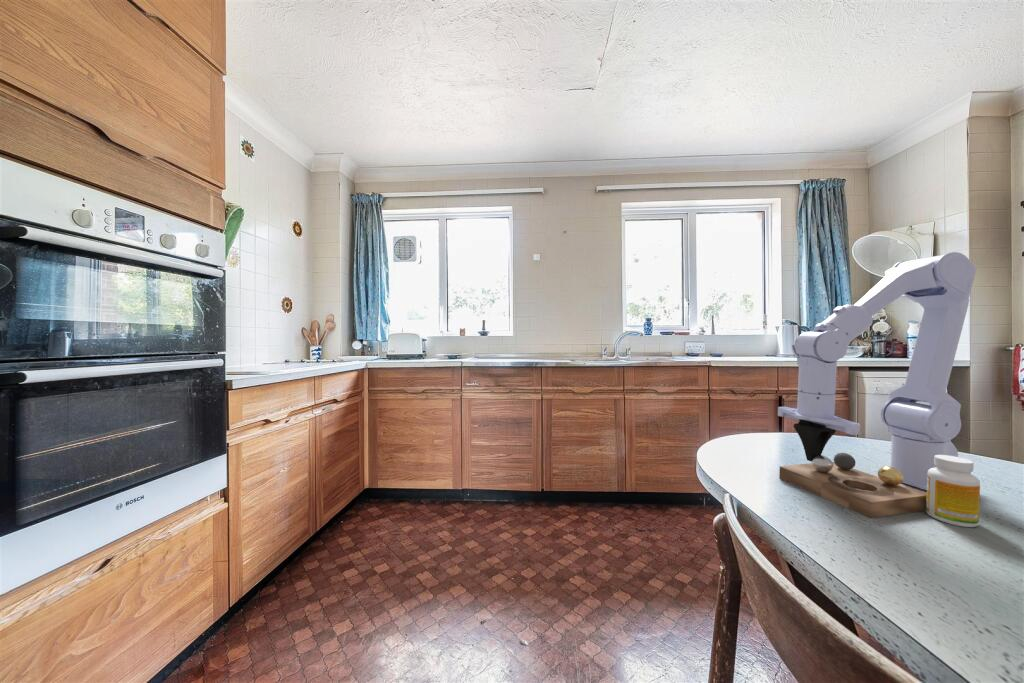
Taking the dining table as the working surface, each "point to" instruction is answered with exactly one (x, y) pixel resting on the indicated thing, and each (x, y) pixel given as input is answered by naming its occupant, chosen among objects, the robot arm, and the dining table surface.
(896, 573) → the dining table surface
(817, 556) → the dining table surface
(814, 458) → the steel ball
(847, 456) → the gray ball
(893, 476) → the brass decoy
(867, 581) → the dining table surface
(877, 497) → the brown wooden hole board
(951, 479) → the supplement bottle
